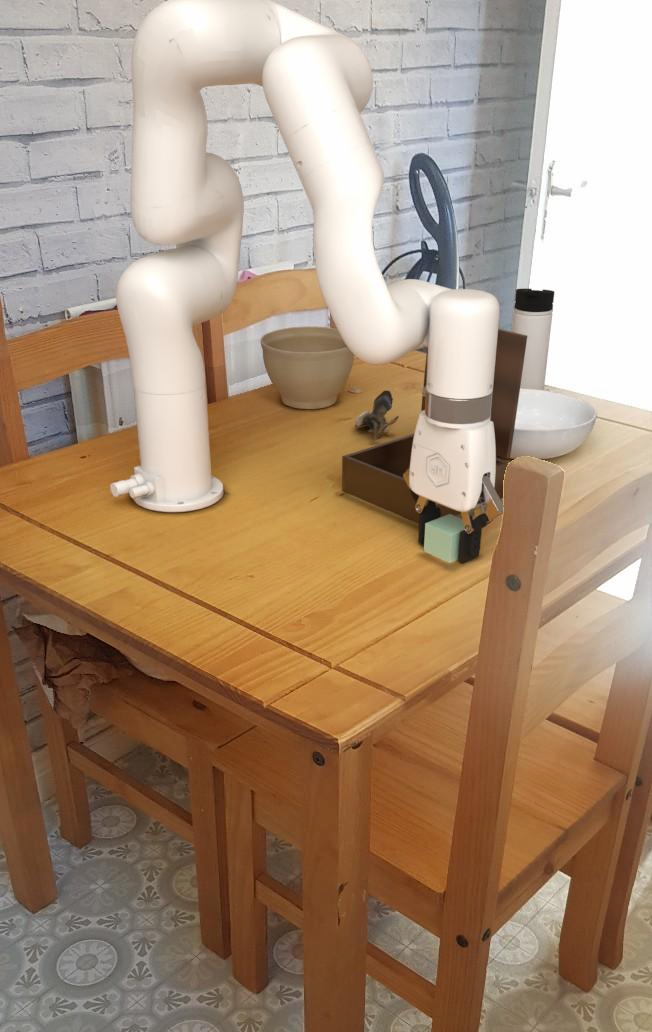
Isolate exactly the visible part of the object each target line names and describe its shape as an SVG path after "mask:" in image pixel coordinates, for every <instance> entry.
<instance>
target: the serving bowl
mask: <svg viewBox="0 0 652 1032" xmlns="http://www.w3.org/2000/svg"><path fill="white" fill-rule="evenodd" d="M597 417H598V412H597V409H596V407H595V406H593V405H592V404H591V403H589V402H587V401H585V400H583V399H581V398H579V397H575V396H573V395H569V394H565V393H560V392H555V391H549V390H545V389H544V390H536V389H520V392H519V399H518V406H517V413H516V420H515V427H514V434H513V442H512V449H511V456H510V458H509V459H513V460H515V458H517V457H521V456H530V457H535V458H538V459H539V460H547V459H554V458H557V457H562V456H565V455H568V454H569V453H571V452H573V451H575V450H576V449H578V448H579V447H580V446H581V445H582V444H584V443H585V441H586V440H588V438H589V436H590V435H591V433H592V431H593V429H594V426H595V423H596V421H597Z"/></svg>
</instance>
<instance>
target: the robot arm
mask: <svg viewBox="0 0 652 1032" xmlns="http://www.w3.org/2000/svg"><path fill="white" fill-rule="evenodd" d="M130 60H131V62H130V65H131V66H130V67H131V69H130V70H131V71H130V73H131V87H132V106H133V107H132V108H133V109H132V112H133V113H132V135H131V160H130V161H131V162H130V163H131V166H130V215H131V220H132V224H133V227H134V229H135V230H136V232H137V234H138V235H139V236H140V237H141V238H142V239H143V240H144V241H146V242H148V243H149V244H152V245H156V246H161V247H162V246H164V247H165V246H166V247H167V246H175V248H172V249H167V250H163V251H160V252H156V253H152V254H150V255H146V256H143V257H140V258H139V259H137V260H135V261H134V262H132V263H130V265H128V266H127V267H126V268H125V270H124V271H123V272H122V273H121V274H120V277H119V279H118V281H117V284H116V290H115V303H116V307H117V312H118V316H119V319H120V322H121V326H122V329H123V333H124V336H125V337H124V338H125V341H126V347H127V350H128V357H129V358H128V359H129V363H130V364H129V365H130V373H131V384H132V389H133V399H134V408H135V409H134V410H135V421H136V429H137V440H138V451H139V461H140V465H137V466H134V467H133V472H134V474H132V475H130V476H129V478H127V479H122V480H119V481H115V482H112V483H110V485H109V487H110V493H111V494H112V496H113V497H114V498H118V497H122V496H125V495H128V494H129V496H130V498H131V499H132V500H133V502H134V503H136V505H138V506H140V507H141V508H144V509H147V510H150V511H155V512H159V513H160V512H161V513H185V512H192V511H197V510H202V509H205V508H208V507H211V506H213V505H215V504H216V503H217V502H220V500H221V499H222V498H223V496H224V484H223V482H222V481H221V480H220V479H219V478H217V477H215V476H214V475H212V464H211V463H212V462H211V446H210V429H209V413H208V398H207V397H208V396H207V395H208V394H207V382H206V371H205V369H206V368H205V363H204V359H203V355H202V352H201V349H200V347H199V345H198V343H197V341H196V338H195V336H194V332H193V327H195V326H196V327H197V325H200V324H202V323H205V322H208V321H210V320H213V319H215V318H217V317H219V316H221V315H222V314H224V313H225V312H226V311H227V310H228V308H229V307H230V306H231V304H232V302H233V300H234V297H235V295H236V291H237V287H238V279H239V271H240V258H241V250H242V249H241V248H242V237H243V236H242V235H243V226H244V212H245V201H244V200H245V199H244V193H243V189H242V185H241V182H240V179H239V177H238V174H237V173H236V171H235V170H234V168H233V167H232V166H231V164H230V163H229V162H228V161H227V160H226V159H224V158H223V157H222V156H220V155H218V154H216V153H213V152H207V144H208V143H207V142H208V135H209V134H208V133H209V132H208V131H209V127H208V116H207V115H208V114H207V109H206V106H205V102H204V100H203V97H202V95H201V90H202V89H204V88H207V87H217V86H237V85H249V84H250V85H252V84H253V85H257V86H259V87H262V90H263V93H264V97H265V100H266V102H267V103H266V104H267V105H268V108H269V110H270V112H271V115H272V117H273V119H274V122H275V124H276V126H277V128H278V131H279V133H280V136H281V138H282V140H283V143H284V145H285V147H286V150H287V152H288V154H289V157H290V159H291V161H292V164H293V166H294V168H295V171H296V173H297V175H298V177H299V180H300V182H301V185H302V188H303V190H304V192H305V195H306V197H307V199H308V201H309V205H310V207H311V209H312V214H313V225H312V226H313V227H312V228H313V229H312V235H313V236H312V237H313V238H312V241H313V250H314V252H313V253H314V263H315V272H316V276H317V281H318V285H319V289H320V292H321V294H322V297H323V299H324V302H325V305H326V307H327V310H328V312H329V314H330V316H331V318H332V321H333V323H334V326H335V327H336V329H337V330H338V331H339V333H340V335H341V337H342V339H343V341H344V342H345V344H346V345H347V347H348V348H349V350H350V351H351V352H352V353H353V354H354V357H356V358H357V359H359V360H360V361H361V362H363V363H365V364H368V365H371V366H384V365H385V366H386V365H388V364H391V363H393V362H395V361H397V360H399V359H400V358H402V357H404V356H406V355H408V354H409V353H412V352H415V351H418V350H422V349H424V348H427V347H428V359H427V382H426V386H425V387H424V388H422V389H421V397H422V396H423V397H426V400H425V410H423V411H421V410H420V412H419V415H418V418H417V421H416V426H415V429H414V433H413V434H414V438H413V444H412V452H411V460H410V468H409V469H408V470H407V471H406V472H405V473H404V474H403V478H404V480H405V481H406V483H407V485H408V487H409V489H411V490H410V492H411V495H412V497H413V498H414V500H415V502H416V506H415V508H416V511H417V512H418V513H420V514H419V524H418V535H417V542H418V544H420V545H423V546H424V538H425V523H427V522H430V521H433V520H435V519H438V518H440V517H441V511H440V508H438V507H437V505H438V504H441V505H443V506H446V507H448V508H451V509H453V510H456V511H459V512H461V514H460V515H461V519H462V520H463V525H464V529H465V530H463V531H461V532H460V537H459V550H458V560H457V561H458V562H460V563H462V564H463V563H464V564H465V563H466V562H468V561H471V560H472V559H476V558H477V557H479V555H480V552H481V541H482V531H483V529H485V528H486V527H487V526H488V525H489V524H491V523H492V522H493V521H495V519H498V517H500V516H501V515H503V514H504V513H503V507H505V506H504V504H503V501H502V500H501V499H500V498H499V496H498V494H497V492H496V490H495V489H494V486H495V473H496V458H497V455H496V445H495V432H494V424H493V422H492V421H490V418H491V405H492V393H493V382H494V371H495V359H496V348H497V336H498V328H499V326H500V325H499V324H500V323H499V322H500V311H501V310H500V308H501V307H500V303H499V301H498V299H497V297H496V296H495V295H493V294H492V293H490V292H487V291H484V290H479V289H473V288H472V289H471V288H459V289H458V288H456V289H453V288H449V287H446V286H442V285H438V284H437V283H432V282H430V281H425V280H422V279H417V278H406V279H401V280H399V281H396V282H394V283H391V284H389V285H387V283H386V280H385V278H384V275H383V273H382V270H381V269H380V266H379V262H378V259H377V255H376V252H375V246H374V240H373V239H374V238H373V224H374V223H373V222H374V216H375V211H376V208H377V205H378V203H379V200H380V197H381V194H382V191H383V187H384V184H385V173H384V168H383V167H382V164H381V163H380V160H379V158H378V155H377V153H376V150H375V148H374V145H373V143H372V140H371V138H370V135H369V133H368V131H367V127H366V125H365V123H364V121H363V118H362V116H361V113H362V112H363V111H364V110H365V109H366V107H367V105H368V103H369V102H370V100H371V96H372V94H373V88H374V87H373V86H374V78H373V76H374V75H373V71H372V66H371V64H370V62H369V59H368V57H367V55H366V54H365V52H364V50H363V49H362V48H361V46H359V44H358V43H357V42H356V41H354V40H353V39H351V38H350V37H349V36H347V35H345V34H343V33H341V32H339V31H337V30H334V29H332V28H330V27H328V26H326V25H323V24H322V23H319V22H317V21H316V20H313V19H311V18H309V17H306V16H305V15H303V14H301V13H298V12H296V11H294V10H292V9H290V8H288V7H286V6H284V5H282V4H280V3H277V2H275V1H273V0H165V1H163V2H161V3H160V4H157V5H156V6H155V7H154V8H152V9H151V10H150V11H149V12H148V14H146V16H145V17H144V19H143V20H142V21H141V23H140V25H139V26H138V29H137V31H136V34H135V36H134V40H133V44H132V49H131V59H130ZM483 503H484V504H485V505H483ZM485 506H486V510H485ZM436 507H437V508H436ZM472 511H473V513H474V517H475V518H473V514H472Z"/></svg>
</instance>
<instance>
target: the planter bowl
mask: <svg viewBox="0 0 652 1032" xmlns="http://www.w3.org/2000/svg"><path fill="white" fill-rule="evenodd" d="M260 347H261V349H262V360H263V364H264V367H265V371H266V373H267V376H268V378H269V380H270V382H271V384H272V385H273V387H274V389H275V390H276V391H277V392H278V393H279V394H280V398H281V402H282V403H283V404H284V405H286V406H287V407H290V408H294V409H301V410H317V409H324V408H329V407H331V406H333V405H334V404H335V403H336V402H337V401H338V395H339V393H340V392H341V391H342V390H343V388H344V387H345V385H346V383H347V382H348V379H349V377H350V375H351V372H352V368H353V366H354V362H355V361H354V360H355V355H354V354H353V353H352V352H351V351H350V350H349V348H348V347H347V345H346V344H345V342H344V341H343V339H342V337H341V335H340V333H339V331H338V330H337V328H333V327H326V326H315V325H313V326H308V325H307V326H291V327H290V326H289V327H285V328H279V329H275V330H272V331H269V332H266V333H265V334H263V335H261V337H260Z"/></svg>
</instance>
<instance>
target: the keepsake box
mask: <svg viewBox="0 0 652 1032" xmlns="http://www.w3.org/2000/svg"><path fill="white" fill-rule="evenodd" d="M413 438H414V433H411V434H409V435H405V436H402V437H399V438H396V439H392V440H389V441H386V442H383V443H379V444H376V445H374V446H373V445H372V446H370V447H367V448H364V449H361V450H357V451H354V452H351V453H348V454H345V455H342V456H341V459H342V460H341V492H344V493H347V494H349V495H350V496H353V497H356V498H357V499H360V500H362V501H365V502H366V503H369V504H371V505H374V506H376V507H378V508H381V509H383V510H385V511H388V512H390V513H392V514H395V515H397V516H399V517H402V518H404V519H406V520H408V521H411V522H413V523H415V524H418V525H419V514H420V513H418V512H417V511H416V508H415V506H416V502H415V500H414V498H413V497H412V495H411V492H410V490H411V489H409V487H408V485H407V483H406V481H405V480H404V478H403V474H404V473H405V472H406V471H407V470H408V469H409V468H410V460H411V452H412V444H413ZM508 464H509V462H508V461H506V460H503V459H501V458H499V457H496V473H495V486H494V489H495V490H496V492H497V494H498V496H499V498H500V500H501V499H504V497H503V480H504V474H505V470H506V467H507V468H508V466H507V465H508ZM483 505H484V506H486V504H484V503H483ZM437 507H438V508H440V511H441V517H443V516H445V515H448V514H452V515H454V516H456V517H458V516H459V515H461V512H459V511H456V510H453V509H451V508H448V507H446V506H443V505H441V504H438V505H437ZM437 507H436V508H437Z"/></svg>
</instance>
